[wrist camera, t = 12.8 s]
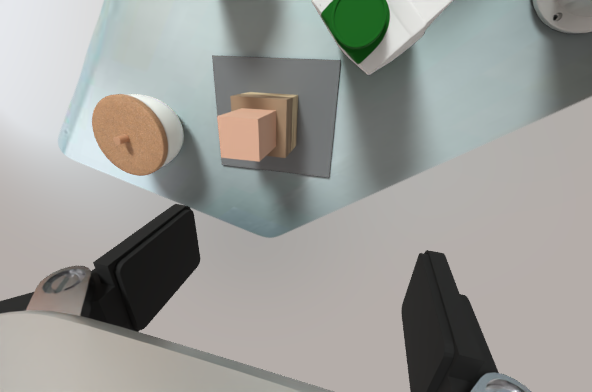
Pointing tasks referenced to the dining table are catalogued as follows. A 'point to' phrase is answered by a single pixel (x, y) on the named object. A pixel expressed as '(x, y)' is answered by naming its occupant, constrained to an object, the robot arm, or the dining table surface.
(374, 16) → the milk carton
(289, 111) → the walnut slab
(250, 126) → the terracotta block
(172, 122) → the lidded bowl
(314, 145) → the rubber mat
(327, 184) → the dining table surface
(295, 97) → the oak slab
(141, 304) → the robot arm
